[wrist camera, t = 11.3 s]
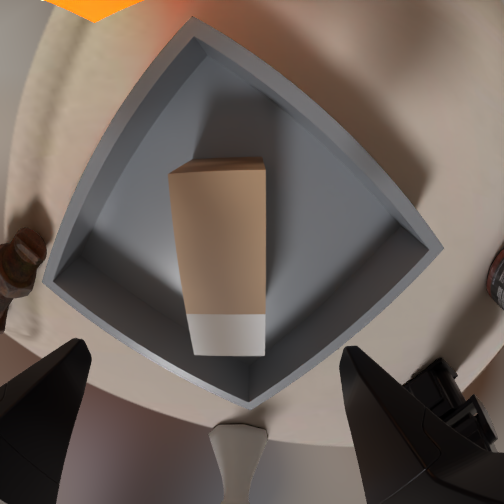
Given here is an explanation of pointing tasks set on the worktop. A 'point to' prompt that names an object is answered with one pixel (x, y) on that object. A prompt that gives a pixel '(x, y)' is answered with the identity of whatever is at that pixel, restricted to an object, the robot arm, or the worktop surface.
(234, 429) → the flask
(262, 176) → the tan rectangular block
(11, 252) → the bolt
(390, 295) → the bin
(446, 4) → the worktop surface
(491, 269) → the supplement bottle
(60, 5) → the orange juice
